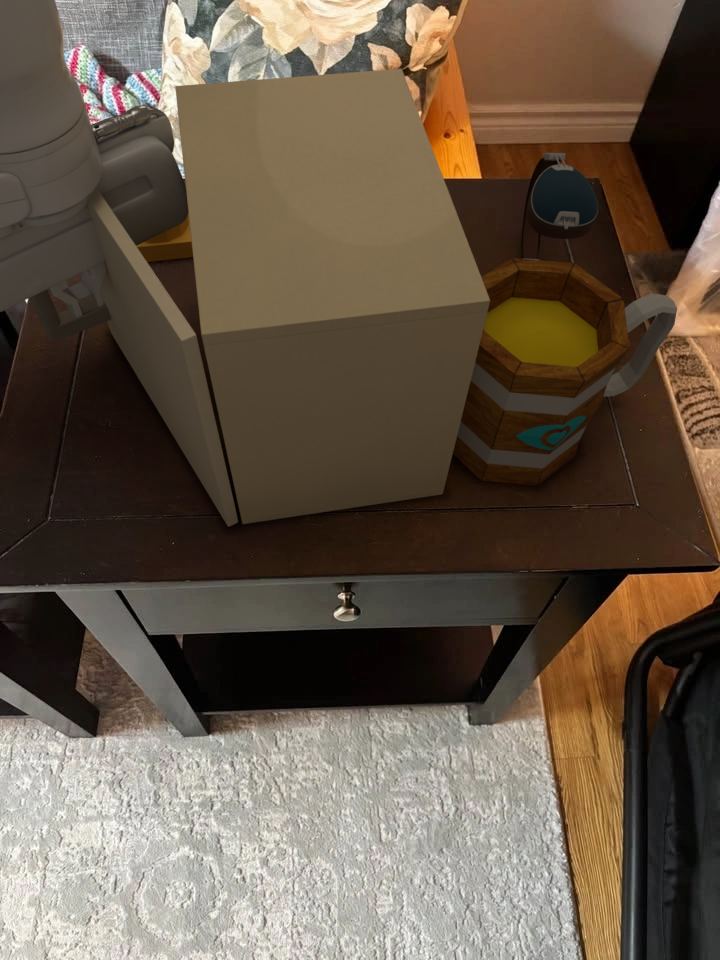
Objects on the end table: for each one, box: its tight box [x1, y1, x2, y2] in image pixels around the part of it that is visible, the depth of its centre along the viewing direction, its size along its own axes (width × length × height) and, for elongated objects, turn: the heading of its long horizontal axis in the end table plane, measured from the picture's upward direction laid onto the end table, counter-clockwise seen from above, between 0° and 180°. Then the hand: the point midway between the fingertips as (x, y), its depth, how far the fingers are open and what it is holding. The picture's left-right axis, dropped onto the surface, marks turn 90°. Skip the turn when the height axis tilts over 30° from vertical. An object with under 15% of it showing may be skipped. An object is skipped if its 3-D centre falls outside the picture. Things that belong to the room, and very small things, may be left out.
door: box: [29, 190, 239, 528], centre depth 60 cm, size 7×26×24 cm, turn 32°
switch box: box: [136, 213, 193, 263], centre depth 82 cm, size 10×7×4 cm
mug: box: [452, 257, 678, 486], centre depth 66 cm, size 20×14×15 cm
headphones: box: [520, 152, 599, 260], centre depth 74 cm, size 6×15×22 cm
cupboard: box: [174, 68, 490, 525], centre depth 63 cm, size 18×26×24 cm
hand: (86, 307), depth 60 cm, fingers closed
